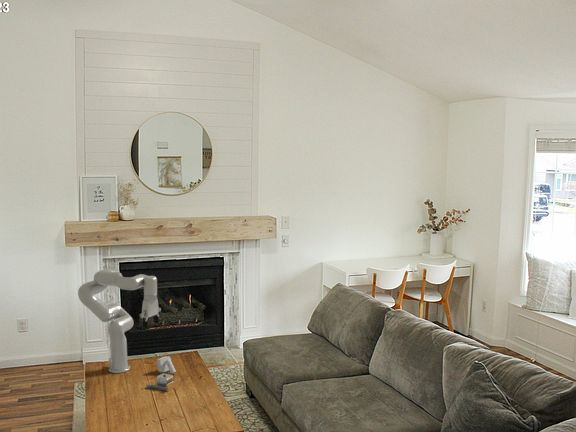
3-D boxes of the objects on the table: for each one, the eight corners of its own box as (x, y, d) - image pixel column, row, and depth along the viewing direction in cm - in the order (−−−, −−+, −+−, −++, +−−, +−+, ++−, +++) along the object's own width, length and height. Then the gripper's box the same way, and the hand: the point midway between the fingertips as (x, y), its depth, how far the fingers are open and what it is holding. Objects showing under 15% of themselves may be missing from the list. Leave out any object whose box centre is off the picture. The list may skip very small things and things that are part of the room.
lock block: (157, 386, 321) (156, 375, 320) (163, 383, 326) (162, 372, 325) (167, 388, 318) (166, 377, 317) (173, 385, 323) (172, 374, 322)
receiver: (145, 387, 319) (145, 382, 319) (161, 379, 332) (161, 373, 331) (166, 392, 313) (166, 386, 312) (182, 383, 325) (182, 377, 325)
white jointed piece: (170, 376, 335) (167, 359, 335) (159, 376, 341) (156, 359, 341) (180, 371, 341) (177, 355, 341) (169, 372, 347) (166, 355, 348)
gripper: (155, 293, 344) (155, 320, 346) (135, 299, 329) (135, 328, 331) (165, 294, 341) (165, 322, 343) (145, 301, 326) (146, 330, 328)
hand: (150, 325), depth 337 cm, fingers open, 9 cm apart
